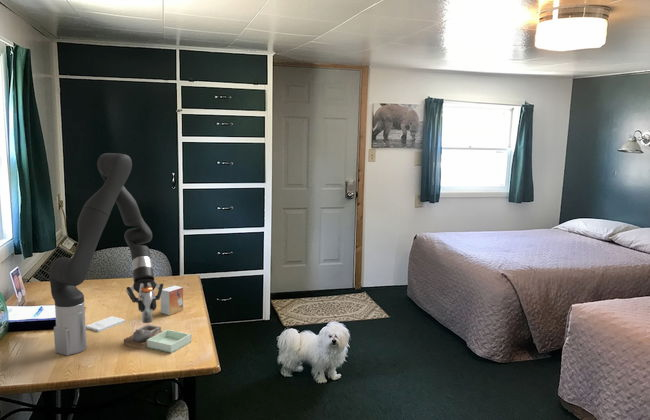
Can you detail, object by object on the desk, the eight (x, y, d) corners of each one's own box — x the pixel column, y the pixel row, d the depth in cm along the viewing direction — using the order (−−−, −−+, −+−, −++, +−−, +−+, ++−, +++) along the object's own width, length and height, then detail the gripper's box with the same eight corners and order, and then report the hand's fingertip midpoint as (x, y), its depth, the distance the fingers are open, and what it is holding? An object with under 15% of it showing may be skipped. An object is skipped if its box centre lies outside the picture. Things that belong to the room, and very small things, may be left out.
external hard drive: (125, 323, 208) (98, 333, 197) (111, 319, 211) (84, 329, 201) (125, 319, 207) (98, 329, 196) (111, 315, 211) (84, 325, 200)
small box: (169, 315, 215) (168, 291, 214) (160, 313, 218) (159, 289, 217) (183, 310, 222) (183, 287, 221) (175, 307, 225) (174, 284, 223)
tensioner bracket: (142, 349, 182) (142, 334, 181) (123, 344, 186) (123, 330, 185) (166, 336, 193) (165, 323, 192) (147, 332, 197) (147, 319, 196)
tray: (171, 353, 179) (171, 345, 179) (147, 347, 183) (146, 339, 183) (191, 341, 189) (191, 334, 189) (167, 336, 193) (167, 329, 193)
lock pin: (147, 324, 189) (147, 290, 187) (139, 322, 190) (138, 288, 188) (155, 320, 192) (154, 287, 191) (146, 318, 194) (146, 285, 192)
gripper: (123, 267, 192) (128, 308, 183) (162, 264, 198) (168, 303, 189) (122, 277, 197) (127, 317, 188) (160, 273, 204) (166, 312, 195)
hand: (147, 310), depth 189 cm, fingers closed on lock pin, 3 cm apart
